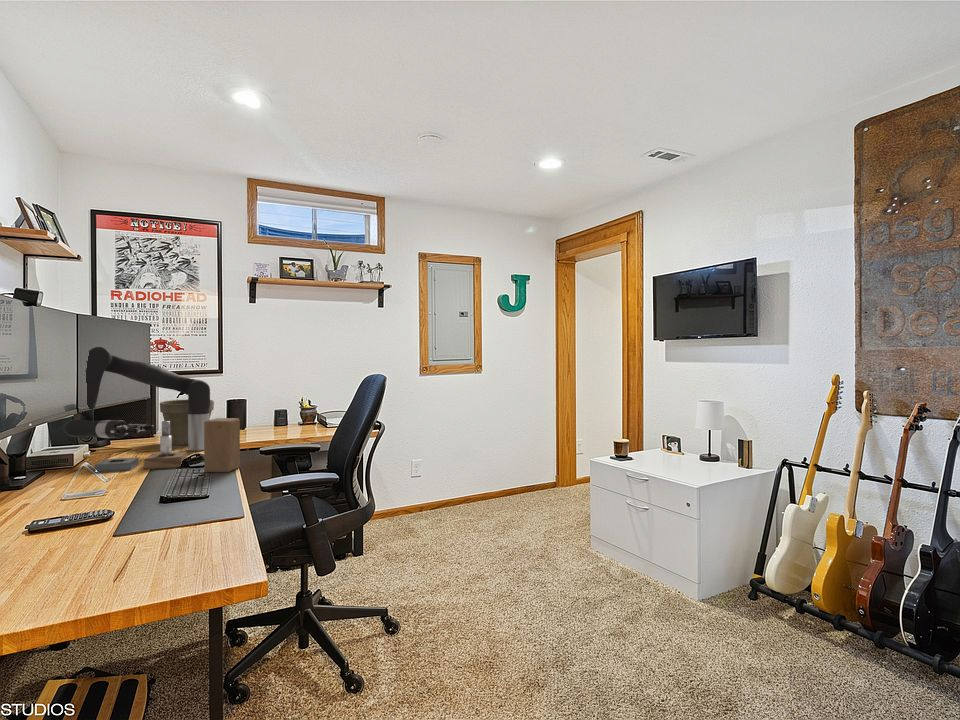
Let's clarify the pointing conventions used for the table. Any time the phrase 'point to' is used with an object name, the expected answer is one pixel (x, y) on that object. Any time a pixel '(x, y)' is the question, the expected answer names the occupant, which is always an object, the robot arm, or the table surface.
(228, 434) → the wooden block
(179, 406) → the plant pot
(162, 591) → the table surface
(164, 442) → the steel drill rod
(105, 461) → the grey socket
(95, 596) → the table surface
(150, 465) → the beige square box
